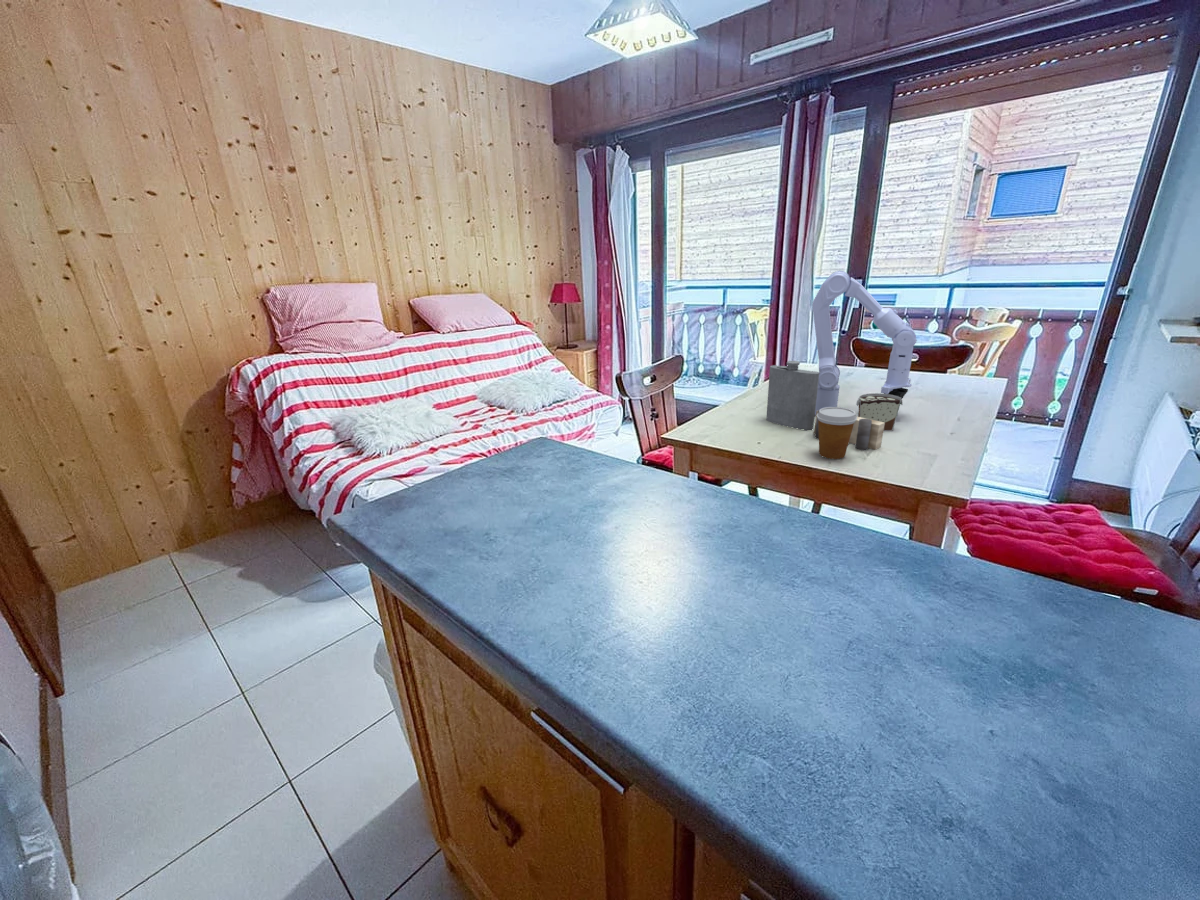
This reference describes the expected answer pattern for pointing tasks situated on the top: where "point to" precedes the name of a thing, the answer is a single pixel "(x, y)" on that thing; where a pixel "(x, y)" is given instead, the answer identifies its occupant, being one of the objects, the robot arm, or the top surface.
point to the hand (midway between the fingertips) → (891, 411)
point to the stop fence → (862, 433)
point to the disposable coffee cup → (835, 431)
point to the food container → (879, 408)
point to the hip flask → (792, 396)
